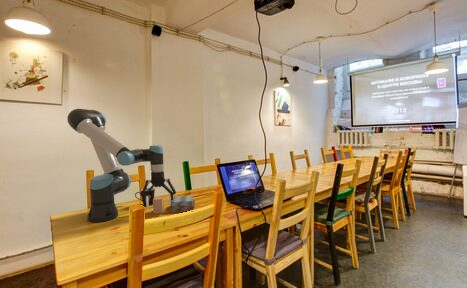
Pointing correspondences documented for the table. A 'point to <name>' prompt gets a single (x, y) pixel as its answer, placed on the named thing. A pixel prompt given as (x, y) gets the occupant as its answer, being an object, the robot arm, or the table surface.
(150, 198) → the coffee mug
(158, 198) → the top brick
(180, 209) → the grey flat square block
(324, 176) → the table surface
